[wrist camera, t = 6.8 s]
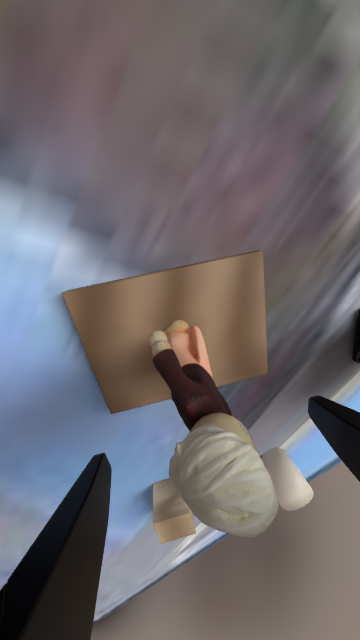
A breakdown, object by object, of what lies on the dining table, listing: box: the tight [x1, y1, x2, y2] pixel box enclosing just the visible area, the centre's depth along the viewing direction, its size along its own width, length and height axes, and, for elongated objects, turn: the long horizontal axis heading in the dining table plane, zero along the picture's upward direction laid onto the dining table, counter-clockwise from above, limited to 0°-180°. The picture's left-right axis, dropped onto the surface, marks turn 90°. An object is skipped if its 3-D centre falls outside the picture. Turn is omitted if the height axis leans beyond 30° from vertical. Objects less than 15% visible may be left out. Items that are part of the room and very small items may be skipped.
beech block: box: [153, 478, 196, 544], centre depth 23 cm, size 4×4×4 cm
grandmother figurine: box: [149, 320, 278, 538], centre depth 11 cm, size 8×4×13 cm, turn 44°
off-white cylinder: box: [261, 448, 313, 510], centre depth 24 cm, size 4×4×4 cm
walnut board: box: [62, 251, 268, 414], centre depth 18 cm, size 16×12×1 cm
